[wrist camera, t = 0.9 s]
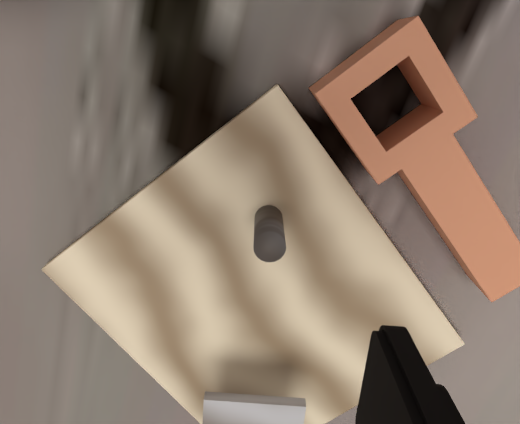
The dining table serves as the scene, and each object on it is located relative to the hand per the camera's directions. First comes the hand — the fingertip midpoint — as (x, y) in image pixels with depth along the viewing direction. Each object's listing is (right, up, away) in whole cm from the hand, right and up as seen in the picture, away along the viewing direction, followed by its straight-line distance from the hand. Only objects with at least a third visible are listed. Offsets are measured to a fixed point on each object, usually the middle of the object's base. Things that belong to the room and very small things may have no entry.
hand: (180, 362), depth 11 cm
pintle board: (+2, -3, +25) cm, 25 cm away
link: (+14, +7, +21) cm, 26 cm away
